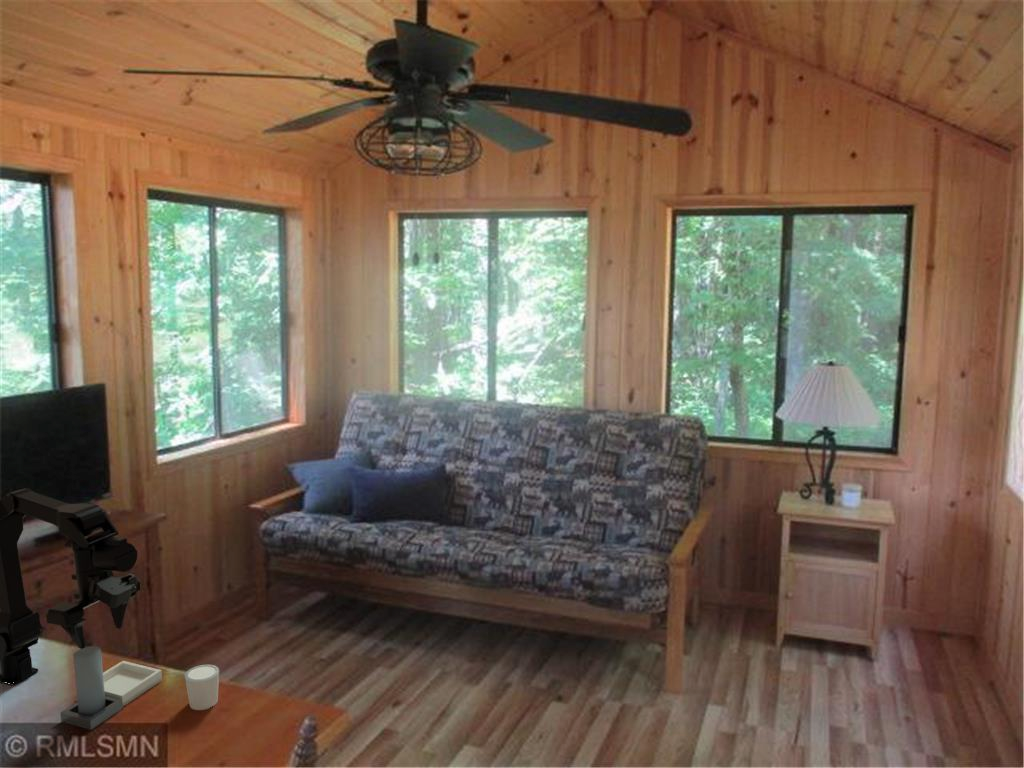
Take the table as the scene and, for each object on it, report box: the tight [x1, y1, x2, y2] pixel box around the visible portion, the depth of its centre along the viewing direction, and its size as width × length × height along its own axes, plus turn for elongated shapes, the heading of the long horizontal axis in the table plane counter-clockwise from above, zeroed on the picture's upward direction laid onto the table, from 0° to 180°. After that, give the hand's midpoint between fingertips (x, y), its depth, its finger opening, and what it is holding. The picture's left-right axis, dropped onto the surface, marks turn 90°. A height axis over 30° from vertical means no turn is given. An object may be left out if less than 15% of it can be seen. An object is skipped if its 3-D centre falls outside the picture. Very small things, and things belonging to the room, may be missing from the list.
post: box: [72, 645, 106, 717], centre depth 163 cm, size 5×5×14 cm
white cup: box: [184, 664, 220, 711], centre depth 169 cm, size 7×7×7 cm
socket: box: [60, 695, 124, 731], centre depth 165 cm, size 8×8×2 cm
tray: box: [103, 660, 163, 707], centre depth 174 cm, size 11×11×2 cm
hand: (100, 638), depth 167 cm, fingers open, 9 cm apart
